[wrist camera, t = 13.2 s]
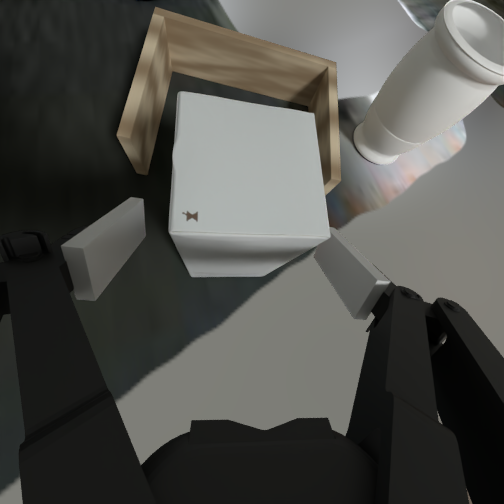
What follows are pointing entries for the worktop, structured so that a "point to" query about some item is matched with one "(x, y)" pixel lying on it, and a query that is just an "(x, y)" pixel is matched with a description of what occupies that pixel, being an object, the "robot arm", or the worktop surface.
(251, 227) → the supplement box
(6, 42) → the worktop surface
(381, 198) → the worktop surface
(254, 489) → the robot arm
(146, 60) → the wooden u-shaped frame
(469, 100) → the jar
